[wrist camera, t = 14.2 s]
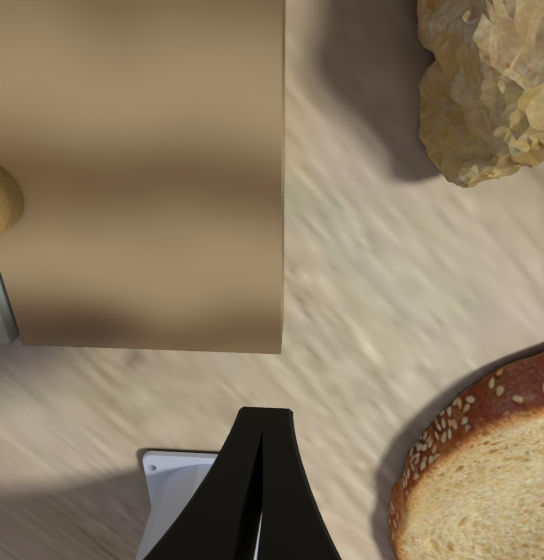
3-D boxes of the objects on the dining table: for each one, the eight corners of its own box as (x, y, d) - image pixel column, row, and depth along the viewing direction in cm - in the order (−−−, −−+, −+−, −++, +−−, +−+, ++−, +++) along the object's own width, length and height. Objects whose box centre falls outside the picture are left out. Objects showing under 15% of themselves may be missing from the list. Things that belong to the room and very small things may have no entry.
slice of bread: (422, 590, 34) (435, 653, 30) (308, 417, 27) (307, 474, 23) (716, 529, 29) (768, 595, 25) (672, 294, 21) (737, 344, 18)
